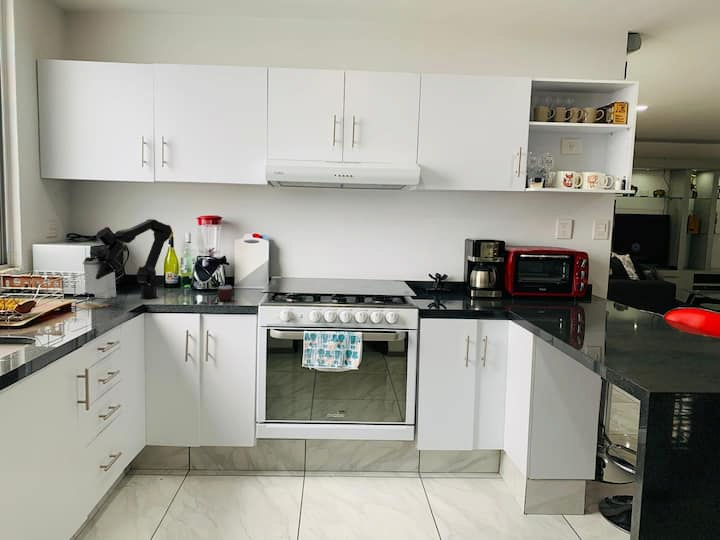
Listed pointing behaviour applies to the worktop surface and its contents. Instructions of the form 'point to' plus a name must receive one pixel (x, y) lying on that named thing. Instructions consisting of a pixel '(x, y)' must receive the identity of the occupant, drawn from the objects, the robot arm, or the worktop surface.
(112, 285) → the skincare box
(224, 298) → the mate gourd
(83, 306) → the oak board
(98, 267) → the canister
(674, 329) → the worktop surface
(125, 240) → the robot arm
